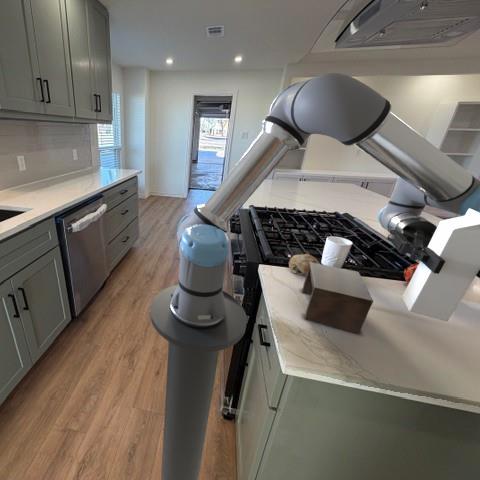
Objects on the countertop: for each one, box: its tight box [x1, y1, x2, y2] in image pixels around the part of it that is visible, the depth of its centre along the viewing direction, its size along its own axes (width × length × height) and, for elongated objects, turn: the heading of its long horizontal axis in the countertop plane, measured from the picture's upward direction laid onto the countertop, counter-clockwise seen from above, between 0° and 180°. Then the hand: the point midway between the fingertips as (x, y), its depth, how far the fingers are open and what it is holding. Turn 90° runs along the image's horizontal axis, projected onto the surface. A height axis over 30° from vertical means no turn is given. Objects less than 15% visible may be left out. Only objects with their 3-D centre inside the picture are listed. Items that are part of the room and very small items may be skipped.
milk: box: [401, 208, 480, 322], centre depth 50 cm, size 6×6×22 cm
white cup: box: [320, 235, 353, 268], centre depth 94 cm, size 8×8×10 cm
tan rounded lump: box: [288, 253, 321, 277], centre depth 90 cm, size 10×10×8 cm
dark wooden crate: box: [301, 262, 374, 335], centre depth 69 cm, size 12×15×10 cm
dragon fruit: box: [403, 263, 419, 286], centre depth 82 cm, size 8×8×12 cm
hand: (465, 271), depth 46 cm, fingers closed on milk, 6 cm apart
